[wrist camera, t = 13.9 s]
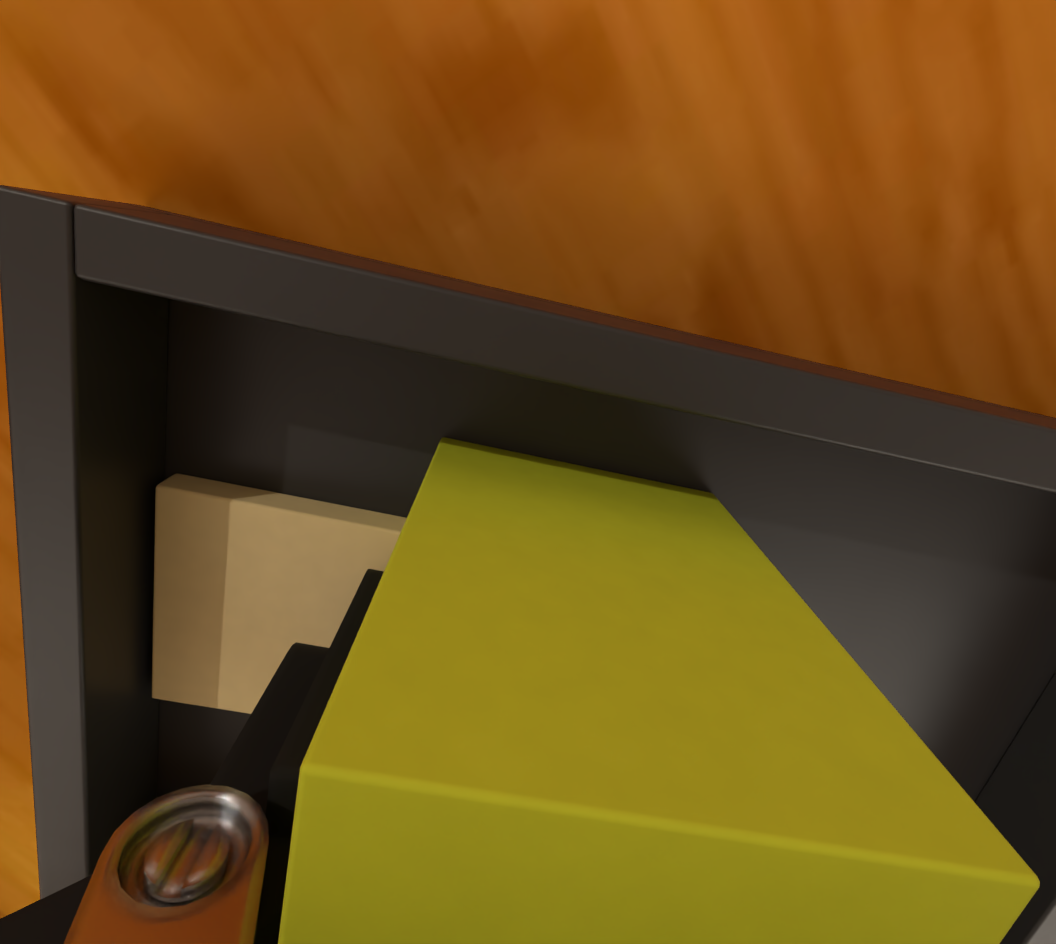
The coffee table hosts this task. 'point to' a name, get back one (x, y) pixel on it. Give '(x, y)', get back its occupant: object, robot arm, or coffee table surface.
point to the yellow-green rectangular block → (618, 742)
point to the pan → (500, 422)
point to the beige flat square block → (250, 584)
